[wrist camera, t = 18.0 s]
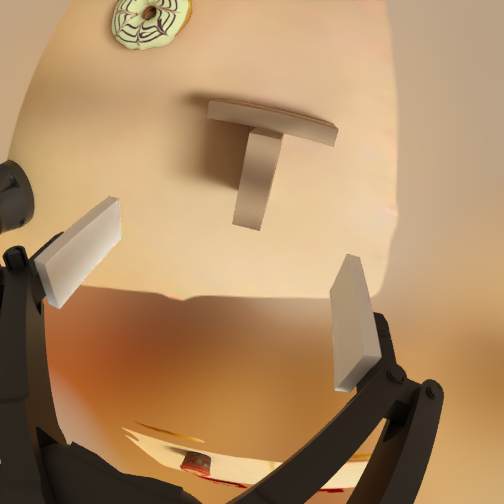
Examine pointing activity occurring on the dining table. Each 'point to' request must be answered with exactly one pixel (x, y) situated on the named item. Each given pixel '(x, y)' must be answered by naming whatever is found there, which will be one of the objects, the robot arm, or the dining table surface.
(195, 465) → the food container
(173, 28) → the decorated donut
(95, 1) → the dining table surface
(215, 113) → the pusher
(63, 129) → the dining table surface
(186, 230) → the dining table surface
